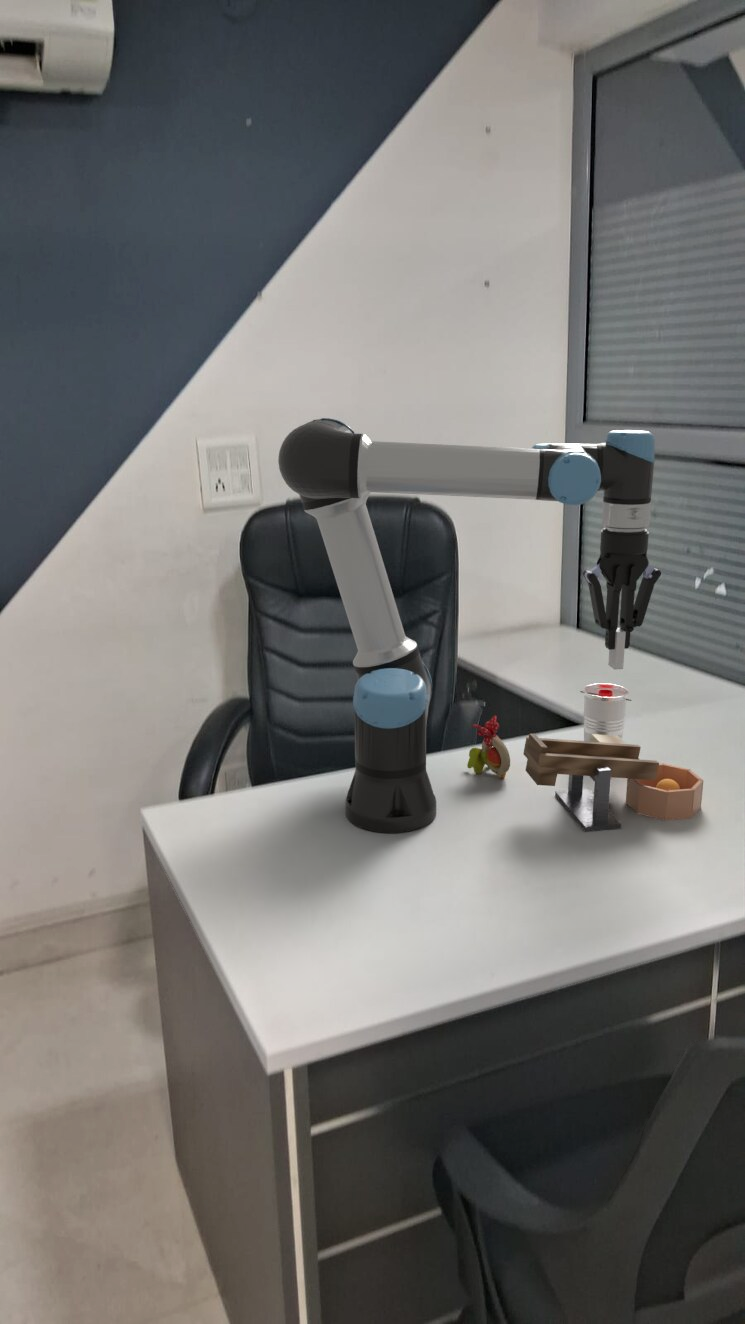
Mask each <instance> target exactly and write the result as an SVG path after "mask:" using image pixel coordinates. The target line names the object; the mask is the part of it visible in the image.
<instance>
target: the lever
mask: <svg viewBox="0 0 745 1324" xmlns="http://www.w3.org/2000/svg"><path fill="white" fill-rule="evenodd" d="M590 741H591V742H590ZM590 741H584V740H571V739H562V738H561V739H559V738H545V737H539V736H538V735H537V734H536V733H529V735H528V736H527V737H526V738H525V743H524V747H523V748H524V749H523V755H524V756H525V758H526V759H527V761H526V764H525V765H526V766H525V770H524V771H526V773H527V775H528V776H529V777H530V779H532V780H533V781H534V783H535V784H536V785H537V786H547V787H548V786H549V787H555V786H556V784H557V783H556V782H557V777H558V775H565V776H566V775H568V776H569V775H581V776H583V777H584V776H586V777H590V779H592V781H593V783H595V767H605V766H608V767H609V768H610V769H611V778H615V779H627V778H629V779H645V780H655V779H656V775H657V771H658V766H659V764H660V762H659V761H658V760H653V759H651V760H649V759H640V758H639V756H640V753H641V746H640V745H639V744H631V743H630V744H629V743H626V742H625V741H624V740H623V738H622V739H621V738H619V737H618V736H613V735H599V734H591V737H590Z"/></svg>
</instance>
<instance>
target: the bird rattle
mask: <svg viewBox="0 0 745 1324" xmlns="http://www.w3.org/2000/svg"><path fill="white" fill-rule="evenodd" d="M497 718H498V717H497V715H493V716H492V717H491V718H490V720H488V721H486V722H485V726H484V727H482V726H480V725H478V724H474V723H473V724H472V727H473V728H476V729H478V730H477V735H478V736H479V737H483V741H482V742H481V743H482V744H481V748H479V747H472V748H471V749H470V750H469V754H468V757H469V759H468V761H467V765H466V766H467V768H468V769H471V768H473V772H474V773H475V774H477V775H478V774H482V772H483V770H484V766H485V765H486V766H487V768H488V769H489V770H490V771H491V772H493V773H494V774H495V775H496V776H497V777H498V778H499V779H503V778H505V777H506V774H507V773H508V771H509V770H510V767H511V756H510V752H509V750H508V748H507V745H505V743H504V741H503V740H502V739H501V738H500V737H499V735H497V734H496V733H497V732H498V730H499V728H500V725H499V723H498V722H497Z"/></svg>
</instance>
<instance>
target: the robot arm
mask: <svg viewBox="0 0 745 1324" xmlns="http://www.w3.org/2000/svg"><path fill="white" fill-rule="evenodd" d="M655 439H656V438H655V436H654V434H653V433H652V432H651V431H648V430H639V429H624V430H623V429H622V430H619V429H616V430H611V431H609V432H608V433H607V435H606V439H605V442H600V443H558V442H557V443H555V442H548V443H535V445H533V446H532V447H531V448H525V447H524V448H522V447H503V446H499V447H498V446H482V445H481V446H480V445H460V444H459V445H458V444H442V443H441V444H437V443H422V442H421V443H420V442H419V443H418V442H416V443H415V442H397V441H396V442H394V441H376V440H374V441H373V440H371V439H370V438H369V437H368V436H367V434H366V433H356V432H355V431H354V430H353V429H352V428H351V427H350V426H349V425H347V424H346V423H345V422H343V421H341V420H337V419H335V418H330V417H328V418H327V417H322V418H319V419H313V420H311V421H309V422H306V423H305V424H301V425H299V426H298V427H296V428H293V430H291V432H289V433H288V434H287V435H286V437H285V438H284V440H283V441H282V443H281V444H280V445H281V446H280V448H279V453H278V459H277V461H278V468H279V472H280V474H281V477H282V479H283V480H284V482H285V484H286V485H287V486H288V487H289V488H290V489H291V490H292V491H293V492H294V493H296V494H297V495H299V497H300V501H301V505H302V508H303V510H304V512H305V514H306V513H307V514H308V515H310V516H312V517H314V518H315V519H316V521H317V525H318V528H319V530H320V534H321V537H322V539H323V543H324V546H325V549H326V553H327V556H328V560H329V563H330V566H331V569H332V572H333V575H334V579H335V582H336V585H337V588H338V590H339V591H338V592H339V594H340V595H339V596H340V597H341V600H342V604H343V607H344V610H345V613H346V616H347V619H348V622H349V627H350V629H351V632H352V636H353V638H354V642H355V645H356V648H357V653H356V655H355V656H354V659H353V660H352V665H353V668H354V670H355V673H356V677H357V682H356V683H355V685H354V693H353V697H352V705H353V709H354V760H355V762H354V764H355V769H354V773H353V777H352V778H351V779H352V780H351V782H350V785H349V789H348V791H347V795H346V798H345V816H346V818H347V820H348V821H349V822H350V823H351V824H352V825H354V826H356V827H358V828H361V829H364V830H367V831H371V832H376V833H377V832H378V833H387V834H389V833H394V834H395V833H405V832H411V831H415V830H419V829H420V828H423V827H425V826H427V825H429V824H431V823H432V822H433V821H434V820H435V819H436V816H437V798H436V795H435V794H434V790H433V787H432V784H431V780H430V777H429V774H428V771H427V725H428V724H427V721H428V714H429V707H430V702H431V699H432V694H433V681H432V676H431V673H430V670H429V669H428V668H427V667H428V666H426V664H425V663H424V661H423V660H422V657H421V653H420V650H419V649H420V648H419V647H418V643H417V641H415V640H414V639H411V638H410V637H408V636H406V633H405V631H404V627H403V623H402V620H401V617H400V614H399V610H398V607H397V604H396V600H395V597H394V593H393V591H392V590H393V589H392V587H391V584H390V580H389V576H388V573H387V570H386V567H385V563H384V560H383V557H382V553H381V550H380V548H379V544H378V540H377V536H376V534H375V530H374V528H373V524H372V519H371V517H370V514H369V511H368V507H367V505H366V504H367V500H368V498H369V496H370V494H371V493H381V494H383V493H384V494H404V495H406V494H407V495H425V496H426V495H427V496H446V497H447V496H449V497H468V498H469V497H471V498H491V499H493V498H494V499H510V500H512V499H514V500H534V501H544V502H545V501H546V502H547V501H548V502H559V503H560V504H563V505H567V506H579V505H584V504H585V503H588V502H590V501H591V500H592V499H593V498H594V497H595V496H596V494H597V493H598V492H603V499H602V513H601V514H602V515H601V525H602V527H604V528H602V529H601V531H600V545H599V548H600V549H599V552H600V553H599V558H597V561H596V565H595V566H594V567H592V568H591V569H589V570H588V569H586V570H584V571H583V573H582V576H583V577H584V579H585V581H586V583H587V585H588V590H589V596H590V600H591V601H590V602H591V606H592V612H593V617H594V623H595V625H596V626H598V627H600V628H601V629H603V630H604V629H605V634H604V635H605V637H604V638H605V640H604V645H605V648H606V649H608V666H609V667H610V668H612V669H613V670H623V669H624V662H625V650H627V649H629V647H630V644H631V643H630V642H631V633H632V632H633V631H634V629H635V628H637V627H638V628H639V627H641V626H642V625H643V624H644V619H645V617H646V613H647V610H648V606H649V603H650V600H651V596H652V595H653V590H654V587H655V584H656V583H657V581H659V579H660V577H661V574H662V572H661V570H659V569H657V568H655V567H653V566H652V565H650V563H649V562H650V561H649V559H648V557H647V556H648V555H647V553H648V549H649V535H650V532H649V531H648V529H647V528H648V527H649V526H650V521H651V520H650V519H651V503H652V493H653V491H652V490H653V482H654V481H653V480H654V469H655V462H656V460H655V446H656V445H655V444H656V443H655V441H656V440H655ZM601 575H602V576H603V578H604V579H605V581H606V585H605V586H606V603H604V596H603V590H602V587H601V582H600V580H601ZM641 576H642V579H641V581H640V585H639V587H638V591H637V582H638V580H639V579H640V578H641ZM636 591H637V594H636V597H635V592H636ZM620 597H621V598H620ZM619 608H620V609H619ZM619 613H620V614H619ZM618 622H619V623H618ZM618 626H619V627H618Z"/></svg>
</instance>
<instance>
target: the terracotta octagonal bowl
mask: <svg viewBox="0 0 745 1324" xmlns="http://www.w3.org/2000/svg"><path fill="white" fill-rule="evenodd" d="M626 779H627V780H626V791H625V792H626V793H625V795H626V796H625V802H626V803H627V804H628V805H629V806H630V807H631V808H632V809H633V811H635V812H636V814H637V815H638V814H639V815H641V816H647V817H649V818H650V817H651V818H654V819H658V820H661V821H670V820H672V821H673V820H683V819H684V820H685V819H693V817H694V816H695V815H696V814H697V813H698V811H699V810H701V808H702V803H703V802H702V800H703V788H704V779H702V778H701V777H700V776H699V775H697V774H696V773H695V772H694V771H692V770H691V768H687V767H681V766H676V765H672V764H667V763H659V766H658V771H657V775H656V779H655V780H645V779H629V778H626ZM663 779H672V780H674V781H675V782H677V784H678V785H679V787H680V789H679V790H668V791H667V790H663V789H659V788H656V786H657V784H658V783H659V782H660V781H661V780H663Z"/></svg>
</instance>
